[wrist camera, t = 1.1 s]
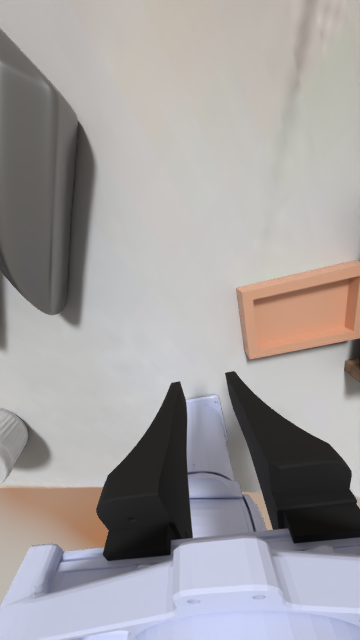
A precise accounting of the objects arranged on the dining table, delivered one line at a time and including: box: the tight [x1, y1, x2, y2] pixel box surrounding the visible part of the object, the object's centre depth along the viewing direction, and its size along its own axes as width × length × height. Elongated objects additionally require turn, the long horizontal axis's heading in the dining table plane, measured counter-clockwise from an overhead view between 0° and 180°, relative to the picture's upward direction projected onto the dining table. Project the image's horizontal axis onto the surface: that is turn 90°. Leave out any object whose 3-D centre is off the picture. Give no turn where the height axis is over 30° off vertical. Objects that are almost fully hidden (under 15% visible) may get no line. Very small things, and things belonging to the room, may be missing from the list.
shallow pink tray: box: [236, 260, 360, 359], centre depth 20 cm, size 8×12×2 cm, turn 104°
